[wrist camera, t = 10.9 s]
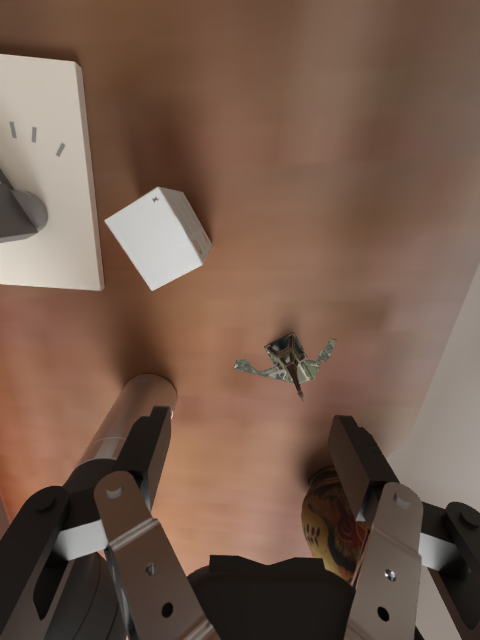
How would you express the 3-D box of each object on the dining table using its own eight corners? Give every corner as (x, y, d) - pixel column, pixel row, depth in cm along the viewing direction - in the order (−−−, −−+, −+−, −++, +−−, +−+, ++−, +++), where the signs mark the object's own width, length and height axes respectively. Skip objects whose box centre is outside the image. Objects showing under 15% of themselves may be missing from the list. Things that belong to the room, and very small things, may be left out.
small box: (143, 214, 38) (101, 218, 26) (183, 190, 37) (158, 183, 25) (175, 267, 41) (151, 293, 29) (213, 246, 40) (204, 264, 28)
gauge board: (104, 287, 42) (100, 291, 40) (-7, 280, 41) (-16, 283, 40) (81, 67, 32) (74, 61, 31) (-65, 52, 31) (-80, 45, 30)
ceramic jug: (288, 506, 61) (332, 760, 33) (302, 453, 55) (370, 706, 27) (364, 511, 62) (469, 761, 34) (385, 459, 56) (534, 709, 28)
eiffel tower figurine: (232, 367, 48) (231, 423, 36) (248, 314, 44) (254, 355, 32) (313, 386, 50) (339, 446, 37) (336, 336, 46) (373, 384, 34)
